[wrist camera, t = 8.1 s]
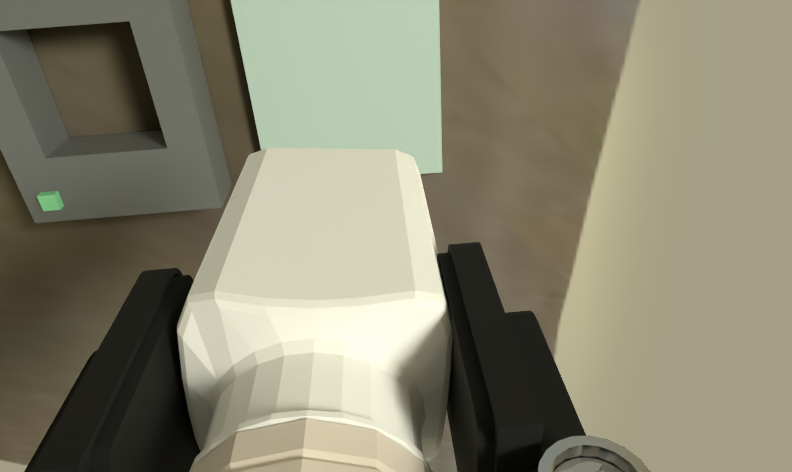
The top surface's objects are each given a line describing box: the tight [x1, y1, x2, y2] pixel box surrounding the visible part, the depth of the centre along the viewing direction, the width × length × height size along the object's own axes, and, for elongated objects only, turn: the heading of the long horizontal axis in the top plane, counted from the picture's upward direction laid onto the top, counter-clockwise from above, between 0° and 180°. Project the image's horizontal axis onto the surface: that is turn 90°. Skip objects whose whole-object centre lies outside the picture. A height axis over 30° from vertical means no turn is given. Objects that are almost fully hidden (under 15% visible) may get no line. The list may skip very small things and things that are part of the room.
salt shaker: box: [177, 148, 452, 472], centre depth 10 cm, size 4×4×10 cm
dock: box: [0, 0, 232, 223], centre depth 23 cm, size 18×9×3 cm, turn 4°
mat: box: [231, 0, 442, 174], centre depth 26 cm, size 12×9×1 cm
